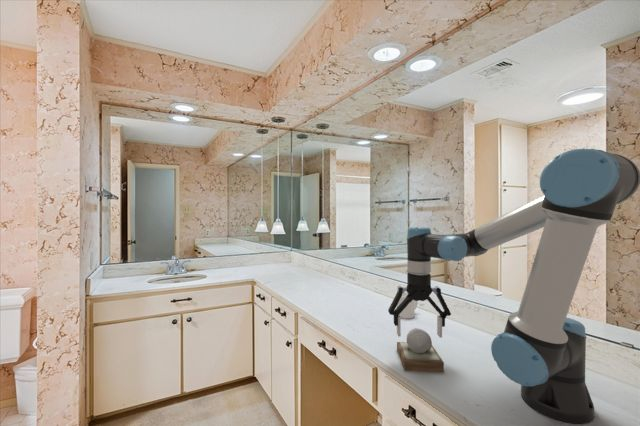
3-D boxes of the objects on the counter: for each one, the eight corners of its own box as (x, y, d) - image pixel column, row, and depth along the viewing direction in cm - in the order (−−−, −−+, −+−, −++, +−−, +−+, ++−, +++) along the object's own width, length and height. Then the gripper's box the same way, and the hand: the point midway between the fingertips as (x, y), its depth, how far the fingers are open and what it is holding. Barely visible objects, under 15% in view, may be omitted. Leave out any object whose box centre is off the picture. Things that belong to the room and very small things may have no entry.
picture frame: (443, 372, 95) (443, 361, 95) (404, 370, 96) (404, 360, 96) (430, 351, 109) (430, 342, 109) (396, 350, 110) (396, 341, 110)
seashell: (414, 368, 104) (415, 349, 94) (396, 339, 113) (395, 319, 103) (435, 357, 106) (438, 337, 96) (416, 329, 114) (417, 308, 104)
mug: (410, 310, 152) (410, 290, 152) (423, 315, 145) (423, 294, 145) (392, 314, 146) (392, 293, 146) (405, 320, 139) (405, 298, 139)
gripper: (452, 270, 105) (452, 331, 105) (380, 270, 107) (380, 330, 107) (461, 275, 97) (461, 341, 98) (383, 274, 99) (383, 339, 99)
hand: (419, 335), depth 102 cm, fingers open, 13 cm apart
